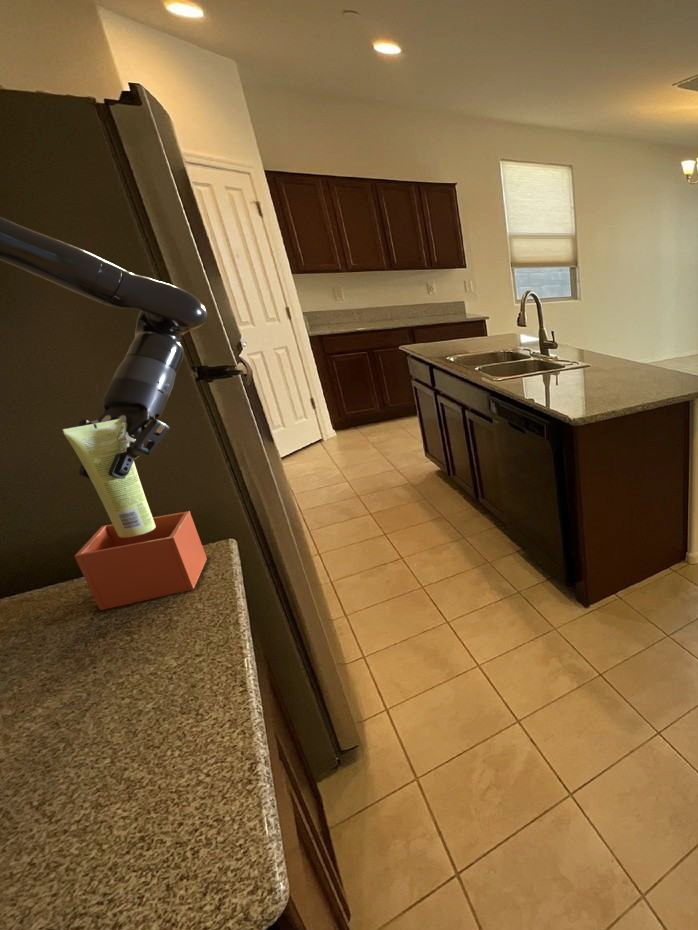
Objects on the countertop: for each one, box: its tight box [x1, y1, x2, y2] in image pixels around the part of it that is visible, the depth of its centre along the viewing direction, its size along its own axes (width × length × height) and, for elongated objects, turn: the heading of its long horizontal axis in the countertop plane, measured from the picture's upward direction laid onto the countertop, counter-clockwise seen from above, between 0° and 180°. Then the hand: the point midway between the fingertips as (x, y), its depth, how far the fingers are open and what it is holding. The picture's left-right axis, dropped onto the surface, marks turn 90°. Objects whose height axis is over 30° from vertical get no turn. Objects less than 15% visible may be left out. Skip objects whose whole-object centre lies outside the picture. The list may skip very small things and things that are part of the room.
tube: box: [62, 418, 156, 538], centre depth 87 cm, size 6×5×20 cm
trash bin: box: [74, 510, 208, 611], centre depth 92 cm, size 12×12×11 cm
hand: (101, 476), depth 85 cm, fingers closed on tube, 4 cm apart
